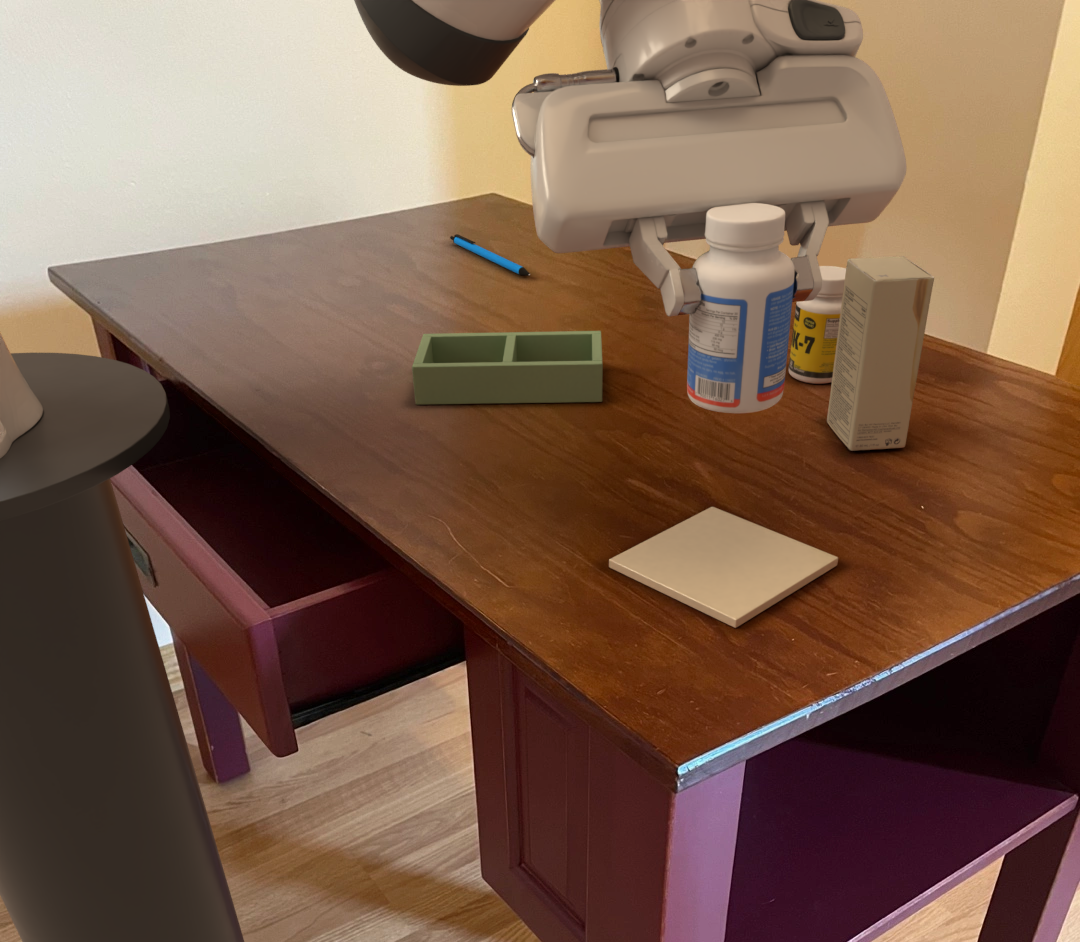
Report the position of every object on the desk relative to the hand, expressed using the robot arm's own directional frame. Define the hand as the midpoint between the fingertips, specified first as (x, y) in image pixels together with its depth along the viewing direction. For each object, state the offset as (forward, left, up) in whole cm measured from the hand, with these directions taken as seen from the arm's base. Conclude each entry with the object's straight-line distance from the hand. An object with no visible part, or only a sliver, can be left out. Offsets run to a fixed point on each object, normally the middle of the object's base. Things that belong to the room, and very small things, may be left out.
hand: (746, 303), depth 57 cm
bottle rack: (+12, +32, -16) cm, 38 cm away
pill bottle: (0, +1, -6) cm, 6 cm away
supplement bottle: (+31, +15, -16) cm, 38 cm away
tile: (0, 0, -16) cm, 16 cm away
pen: (+36, +63, -16) cm, 74 cm away
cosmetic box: (+23, +5, -16) cm, 29 cm away
